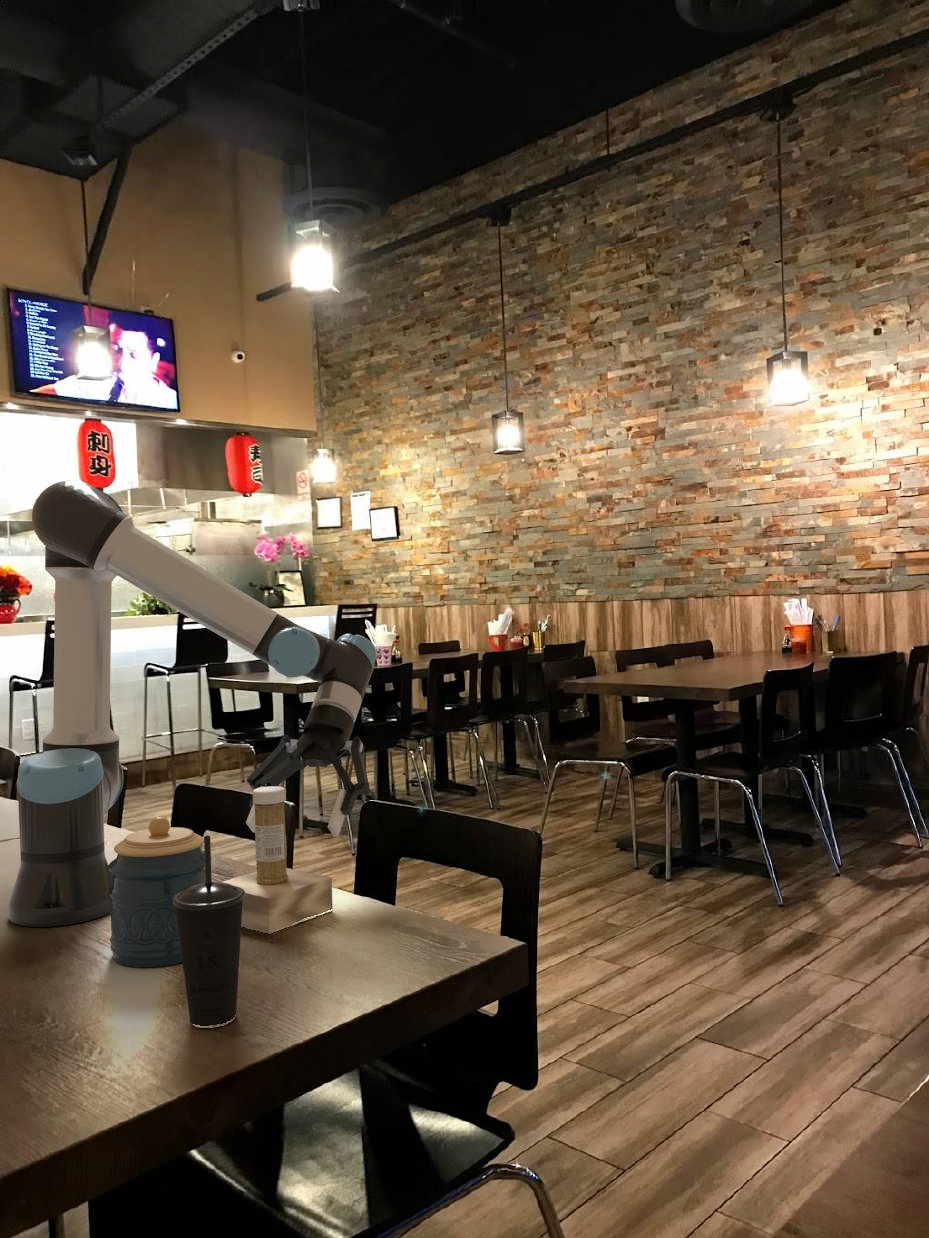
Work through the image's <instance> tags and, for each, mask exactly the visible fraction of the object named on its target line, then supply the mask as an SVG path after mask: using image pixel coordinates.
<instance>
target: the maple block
mask: <svg viewBox="0 0 929 1238" xmlns="http://www.w3.org/2000/svg"><path fill="white" fill-rule="evenodd" d="M286 868H287V875H288V878H287V880H285V881H284V882H281V883H277V884H262V883H258V882H257V881H256V877H257V871H254V872H251V873H247V874H243V875H241V876H237V877H234V878H230V879H227V880H224V881H222V882H224V883H228V884H231V885H233V886H237V887H240V888H242V889H244V891H245V898H244V899H243V902H242V920H241V928H243V927H245V928H244V929H246V928H247V930H250V929H251V930H250V931H253V930H256V931H255V932H257V931H260V932H259V933H261V932H264V933H268V934H270V933H273V932H274V931H276V930H278V929H281V928H283V927H287V926H290V925H292V924H293V923H295V922H298V921H300V920H302V919H304V918H307V917H311V916H314V915H318V914H321V913H323V912H326V911H328V910H331V909H333V908H334V907H333V906H334V905H333V878H332V877H331V876H327V875H322V874H317V873H311V872H307V871H303V870H298V869H293V868H290V867H289V868H288V867H286ZM264 933H263V934H264ZM268 934H267V935H268ZM273 934H274V933H273Z"/></svg>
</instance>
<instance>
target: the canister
mask: <svg viewBox="0 0 929 1238" xmlns="http://www.w3.org/2000/svg"><path fill="white" fill-rule="evenodd" d="M202 846H204V836H201V835H199V834H197V833H195V832H194V831H193V830H192V829H190V828H186V827H179V826H178V827H175V826H174V827H173V826H170V821H169V820H168V819H167V817H166V816H155V817H154V818H152V819H151V820H150V822H149V824H148V829H143V830H138V831H135V832H132V833H129V834H128V835H126V836H125V838H124V839H123V840H121V841H120V842H118V843H117V844H115V845H114V847H113V850H114V853H116V854H117V856H116V858H115V859H113V860H112V861H111V862H109V863H108V871H109V872H110V873H111V874H112V875H113V880H112V888H111V889H110V890H109V897H110V907H111V912H110V925H111V926H110V927H111V928H110V929H111V930H110V931H111V932H110V933H111V934H110V938H109V942H110V951H111V952H112V953H111V954H112V959H113V960H114V961H115V962H116V963H117V964H118V963H119V964H120V965H123V966H127V967H134V968H157V967H158V968H159V967H166V966H172V965H178V964H181V963H182V964H183V962H182V954H181V946H180V938H179V930H178V923H177V915H176V907H175V906H174V905H173V903H172V899H173V897H174V896H175V895H176V894H178V893H179V892H182V891H184V890H185V889H187V888H189V887H191V886H193V885H196V884H199V883H204V882H205V854H204V848H203V847H202ZM211 860H212V856H211Z"/></svg>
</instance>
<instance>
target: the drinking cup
mask: <svg viewBox="0 0 929 1238" xmlns="http://www.w3.org/2000/svg"><path fill="white" fill-rule="evenodd" d="M203 838H204V844H203V846H204V847H203V850H204V854H205V882H204V883H199V884H196V885H193V886H191V887H189V888H187V889H185V890H184V891H182V892H179V893H178V894H176V895H175V896H174V897H173V899H172V903H173V905H174V906H175V907H176V915H177V923H178V930H179V938H180V946H181V954H182V967H183V975H184V984H185V991H186V998H187V1006H188V1014H189V1016H188V1017H189V1023H190V1022H191V1023H192V1024H195V1025H200V1026H210V1025H217V1024H223V1023H226V1022H227V1021H230V1020H231V1019H233V1018H234V1017H235V1015H236V1016H237V1009H238V1008H237V1007H238V1006H237V1005H238V991H239V989H238V988H239V972H240V971H239V970H240V954H241V953H240V952H241V936H242V935H241V933H242V927H241V920H242V902H243V899H244V898H245V891H244V889H242V888H240V887H237V886H233V885H231V884H228V883H224V882H223V881H213V875H212V859H211V857H212V849H211V848H212V847H211V846H212V844H211V842H212V841H211V840H212V839H211V836H210V835H204V836H203ZM191 1023H190V1024H191Z"/></svg>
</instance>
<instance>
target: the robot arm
mask: <svg viewBox="0 0 929 1238" xmlns="http://www.w3.org/2000/svg"><path fill="white" fill-rule="evenodd" d="M31 511H32V512H31V523H32V528H33V530H34V533H35V535H36V537H37V538H38V540H39V541H40V542H41V544H43V545H44V549H45V550H44V551H45V552H44V555H45V556H44V569H45V571H46V573H48V574H49V575H50V576H51V577H52V578H53V579H54V581H55V582H54V636H53V637H54V641H53V642H54V643H53V647H54V651H53V652H54V653H53V654H54V655H53V707H52V709H53V711H52V712H53V713H52V714H53V716H52V719H53V720H52V726H53V727H52V729H51V731H50V732H48V733H47V735H46V736H45V737H44V738H43V739H42V753H35V754H32V755H30V756H29V757H27V758H26V759H24V760H23V761H21V763H20V765H19V766H18V772H17V780H16V790H17V799H18V822H19V823H18V824H19V825H18V826H19V828H18V829H19V849H20V850H19V851H20V854H19V855H20V867H19V870H18V873H17V876H16V880H15V882H14V886H13V888H12V892H11V895H10V899H9V902H8V903H9V904H8V913H9V914H8V918H9V921H10V922H12V923H13V924H15V925H18V926H22V927H23V926H24V927H32V928H33V927H34V928H36V927H37V928H40V927H41V928H45V927H46V928H47V927H60V926H68V925H73V924H79V923H83V922H87V921H91V920H94V919H98V918H101V917H103V916H106V915H108V914H111V907H110V897H109V890H110V889H111V888H112V880H113V875H112V874H111V873H110V872H109V871H108V865H109V863H108V860H107V857H106V853H105V851H106V850H105V847H106V846H105V829H104V828H105V825H104V823H105V822H104V814H105V813H106V812H108V811H109V810H110V809H111V808H112V807H113V805H115V803H116V802H117V800H118V799H119V797H120V794H121V792H122V790H123V785H124V771H123V767H122V763H121V761H120V737H119V736H118V734H117V733H115V731H113V730H112V728H111V725H110V722H111V721H110V719H111V718H110V717H111V715H110V714H111V658H112V657H111V656H112V655H111V653H112V652H111V649H112V648H111V647H112V640H111V639H112V589H113V588H112V586H113V585H112V582H113V581H114V579H116V578H117V577H119V578H121V579H123V580H125V581H126V582H127V583H129V584H131V585H133V586H135V587H136V588H138V589H140V590H142V591H143V592H144V593H147V594H148V595H149V596H152V597H154V598H155V599H157V600H158V601H160V602H161V603H164V604H165V605H166V606H169V607H170V608H172V609H174V610H176V611H177V612H179V613H180V614H182V615H184V616H186V617H187V618H190V619H191V620H192V621H194V622H197V624H199V625H201V626H203V627H204V628H206V629H207V630H209V631H211V632H213V633H215V634H217V635H218V636H220V637H222V638H223V639H226V640H227V641H228V642H230V643H232V644H234V646H237V647H239V648H240V649H242V650H244V651H245V652H247V653H249V654H251V655H252V656H254V657H255V658H257V659H259V660H260V661H262V662H263V663H265V664H267V665H268V666H270V667H272V668H273V669H274V671H276V672H277V673H279V674H280V675H282V676H285V677H287V678H299V677H305V678H307V679H310V680H312V681H315V682H318V683H320V684H319V686H318V688H317V689H318V690H317V691H316V694H315V697H314V699H313V702H312V704H311V708H310V710H309V712H308V715H307V717H306V720H305V723H304V726H303V731H302V735H301V736H300V737H299V739H294V738H290V736H289V735H287V734H285V735H283V736H282V738H281V739H280V741H279V743H278V745H277V746H276V747H275V749H274V750H273V751H271V753H270V754H268V756H267V757H266V758H265V759H264V760H263V761H262V762H261V764H259V765H258V766H257V768H255V770H254V771H252V773H250V775H248V777H247V778H246V782H247V784H248V785H249V786H250V788H251V789H252V792H253V791H254V790H255V789H257V788H260V787H268V786H279V785H281V784H282V783H283V782H284V781H286V780H287V779H288V778H290V777H292V775H294V774H295V773H297V772H298V771H302V770H304V769H305V768H306V767H308V768H315V767H319V768H327V767H328V766H330V765H332V766H333V768H334V770H335V771H336V773H337V776H339V779H340V780H341V782H342V784H343V785H344V787H345V789H344V788H343V789H341V788H340V789H339V792H338V794H337V798H336V800H335V803H334V805H333V806H334V807H333V810H332V812H331V816H330V819H329V820H328V821H329V822H328V825H327V828H328V830H329V831H330V833H331V834H332V837H334V838H338V837H339V836H340V833H341V830H342V827H343V823H344V822H345V818H346V816H350V815H351V813H352V812H353V808H354V805H355V803H356V799H357V798H358V796H361V795H362V796H363V795H364V796H368V795H370V794H371V786H370V783H369V779H368V775H367V774H368V773H367V771H366V770H367V769H366V765H365V761H364V753H365V752H364V751H365V745H364V744H363V742H362V740H361V738H360V737H359V736H354V737H353V738H352V740H350V738H351V734H352V733H353V729H354V727H355V726H354V725H355V722H356V720H357V716H358V715H359V711H360V709H361V705H362V702H363V699H364V697H365V694H366V691H367V688H368V687H369V683H370V679H371V678H372V674H373V673H374V668H375V662H376V660H377V649H376V646H375V645H374V644H373V642H372V641H371V640H369V638H366V637H365V636H362V635H360V634H355V635H353V634H352V633H346V634H343V635H341V636H340V637H338V639H337V640H335V639H332V638H328V637H326V636H323V635H322V634H319V633H316V632H315V631H312V630H310V629H308V628H306V627H303V626H300V625H299V624H297V623H295V622H293V621H292V620H290V619H288V618H286V617H285V616H283V615H281V614H279V613H278V612H277V611H276V610H273V609H272V608H270V607H268V606H267V605H265V604H263V603H262V602H260V601H259V600H257V599H255V598H253V597H251V596H250V595H249V594H247V593H245V592H243V591H242V590H240V589H238V588H236V587H235V586H233V585H232V584H230V583H229V582H227V581H225V580H223V579H222V578H220V577H218V576H216V575H215V574H213V573H212V572H210V571H208V570H206V568H203V567H202V566H201V565H198V564H197V563H195V562H193V561H192V560H190V559H188V558H187V557H185V556H184V555H181V553H179V552H176V551H175V550H173V549H172V548H170V547H169V546H166V545H165V544H163V543H162V542H160V541H159V540H157V539H155V538H153V537H152V536H150V535H148V533H145V532H143V531H141V529H139V528H137V527H135V526H134V522H133V521H134V520H133V517H132V516H129V515H128V514H127V513H124V511H123V509H122V507H121V506H120V504H119V503H118V502H117V501H116V500H115V499H114V498H113V497H112V496H111V495H110V494H108V493H106V492H104V491H103V490H100V489H97V488H96V487H95V486H93V485H91V484H89V483H87V482H83V481H78V480H63V481H58V482H56V483H53V484H51V485H49V486H48V487H46V488H45V489H44V490H42V491H41V493H40V494H39V495H38V497H37V498H36V500H35V502H34V504H33V506H32V510H31ZM347 751H348V753H350V755H351V758H352V763H353V767H354V772H355V778H356V782H357V783H353V782H352V780H351V777H350V776H349V774H348V773H347V771H346V769H345V768H344V766H343V764H342V762H341V761H340V759H339V758H340V757H341V756H342V755H344V754H345V753H346V752H347ZM299 757H301V760H300V759H299ZM249 807H250V811H249V814H248V816H247V818H246V819H247V820H246V821H245V824H246V825H247V826H248V828H249V830H251V832H252V833H255V806H254V802H253V794H252V795H251V799H250V801H249Z"/></svg>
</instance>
